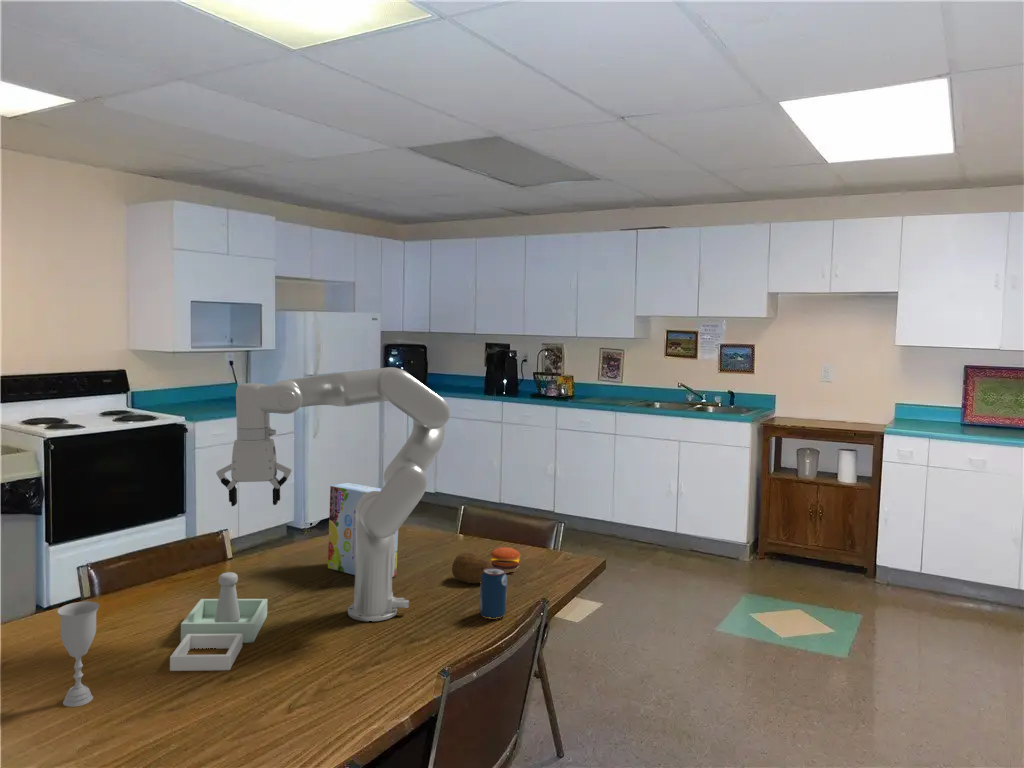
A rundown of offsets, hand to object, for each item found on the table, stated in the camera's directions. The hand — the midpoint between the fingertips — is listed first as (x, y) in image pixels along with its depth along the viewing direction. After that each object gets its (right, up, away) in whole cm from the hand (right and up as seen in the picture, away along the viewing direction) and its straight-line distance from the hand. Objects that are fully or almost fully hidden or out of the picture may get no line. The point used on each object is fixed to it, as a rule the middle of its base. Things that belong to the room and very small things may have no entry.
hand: (254, 504), depth 182 cm
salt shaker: (-6, -29, -2) cm, 30 cm away
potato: (+50, -30, +39) cm, 70 cm away
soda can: (+57, -32, +14) cm, 67 cm away
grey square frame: (-4, -31, -18) cm, 36 cm away
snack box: (+17, -28, +44) cm, 55 cm away
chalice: (-21, -32, -39) cm, 54 cm away
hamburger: (+60, -29, +53) cm, 86 cm away
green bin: (-6, -30, -3) cm, 30 cm away
